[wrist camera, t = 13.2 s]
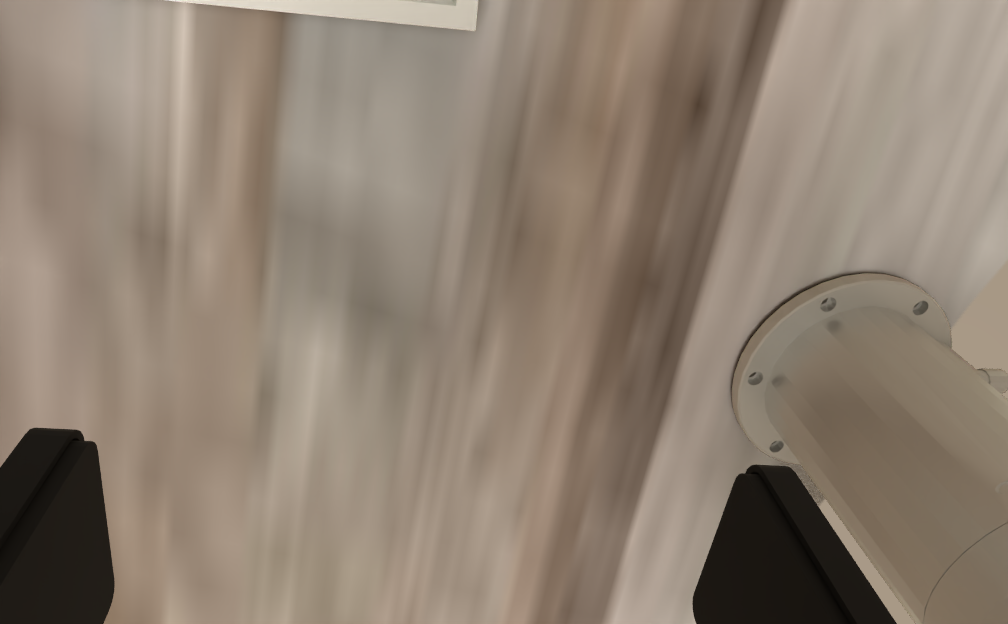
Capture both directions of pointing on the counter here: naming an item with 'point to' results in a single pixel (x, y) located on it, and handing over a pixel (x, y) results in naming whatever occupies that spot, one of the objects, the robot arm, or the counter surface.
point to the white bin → (371, 10)
